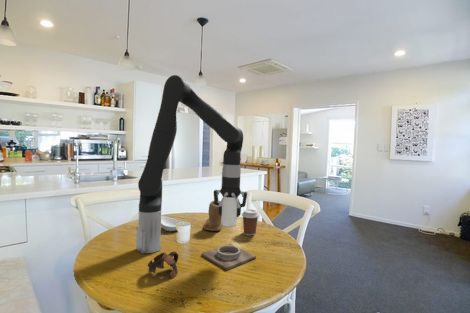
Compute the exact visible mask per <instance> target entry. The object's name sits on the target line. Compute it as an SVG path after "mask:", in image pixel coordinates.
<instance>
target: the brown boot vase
mask: <svg viewBox="0 0 470 313" xmlns="http://www.w3.org/2000/svg"><path fill="white" fill-rule="evenodd" d="M218 202H221V200H218ZM207 212H208V217H209V218H206V220H205V223H204V225H203V228H204V230H205V231H209V232H215V231H216V232H217V231H221V229H222V228H223V225H222V224H221V216H220V214H219V206H218V205H215V204H214V200H212V201H211V202H210V203H209V205H208V211H207Z"/></svg>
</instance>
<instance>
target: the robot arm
mask: <svg viewBox="0 0 470 313" xmlns="http://www.w3.org/2000/svg"><path fill="white" fill-rule="evenodd" d="M179 103H181V104H182V105H184V106H186V107H188V108H189V109H191V110H192V111H193V112H194V113H195V115H196V116H198V118H199V119H201V120H202V122H204V123H205V124H206V125H207V126H208V127H210V128H211V129H212V130H214V132H215V133H216V134H217V136H219V138H220V139H222V141H224V142H225V143H226V149H225V151H224V152H223V159H222V169H221V186H220V189H214V190H213V201H214V204H215V205H218V206H219V214H220V216H222V202H223V199H224V196H225V197H235V200H236V203H237V207H238V208H237V218H239V217H240V216H241V215H242V208H245V207H246V204H247V198H248V191H242V190H241V160H242V159H241V155H242V154H241V152H242V148H243V145H244V144H243V143H244V133H243V131H242V129H241V128H239V127H237V126H235V125H233V124H232V123H231V122H229V121H228V120H227V118H226V117H225V116H224V115H223V114H222V113H220V111H218V110H217V109H215V107H213V106H212V105H210V104H208V102H206V101H205V100H203V99H202V98H201V97H200V96H199V95H198V94H197V93H196V92H195V91H194V90H193V89H192V87H191V85H189V83H188V82H187V81H186V80H185V79H183V78H182V77H181V76H179V75H176V74H175V75H171V76H169V77H168V78H167V79H166V80H165V83H164V85H163V90H162V97H161V103H160V108H159V110H158V115H157V118H156V122H155V125H154V129H153V131H152V135H151V139H150V143H149V148H148V153H147V159H146V163H145V166H144V167H143V168H144V169H143V171H142V173H141V176H140V178H139V180H138V183H137V186H138V191H139V201H138V203H139V204H138V226H137V227H136V243H135V244H136V250H137V251H138V253H140V254H141V255H143V254H153V253H156V252H159V250H161V248H162V247H161V244H162V242H161V241H162V240H161V239H162V238H161V236H162V234H161V233H162V226H161V215H162V204H163V203H162V202H163V179H162V178H163V174H164V171H165V170H164V169H165V165H166V163H167V160H168V158H169V156H170V155H171V152H172V148H173V146H174V143H175V139H176V137H177V136H176V135H177V132H178V131H177V130H178V124H177V112H178V107H179ZM220 194H221V196H222V198H221V200H220V201H221V202H218V201H219V196H220ZM240 195H241V197H242V202H240V199H239V196H240ZM237 199H238V200H237Z"/></svg>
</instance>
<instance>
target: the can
mask: <svg viewBox="0 0 470 313" xmlns="http://www.w3.org/2000/svg"><path fill="white" fill-rule="evenodd" d="M238 199H239V198H238ZM238 199H237V200H238ZM237 208H238V207H237V203H236V200H235V197H225V196H224V199H223V202H222V216H221V224H222V227H226V228H234V227H236V226H237V224H238V217H237Z"/></svg>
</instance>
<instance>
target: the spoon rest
mask: <svg viewBox="0 0 470 313" xmlns="http://www.w3.org/2000/svg"><path fill="white" fill-rule="evenodd" d="M178 222H183V221H182V220H180V219H176V218H172V217H169V216H166V215H163V214H161V229H164V230H165V231H166V232H175V231H177V230H176V223H178Z"/></svg>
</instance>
